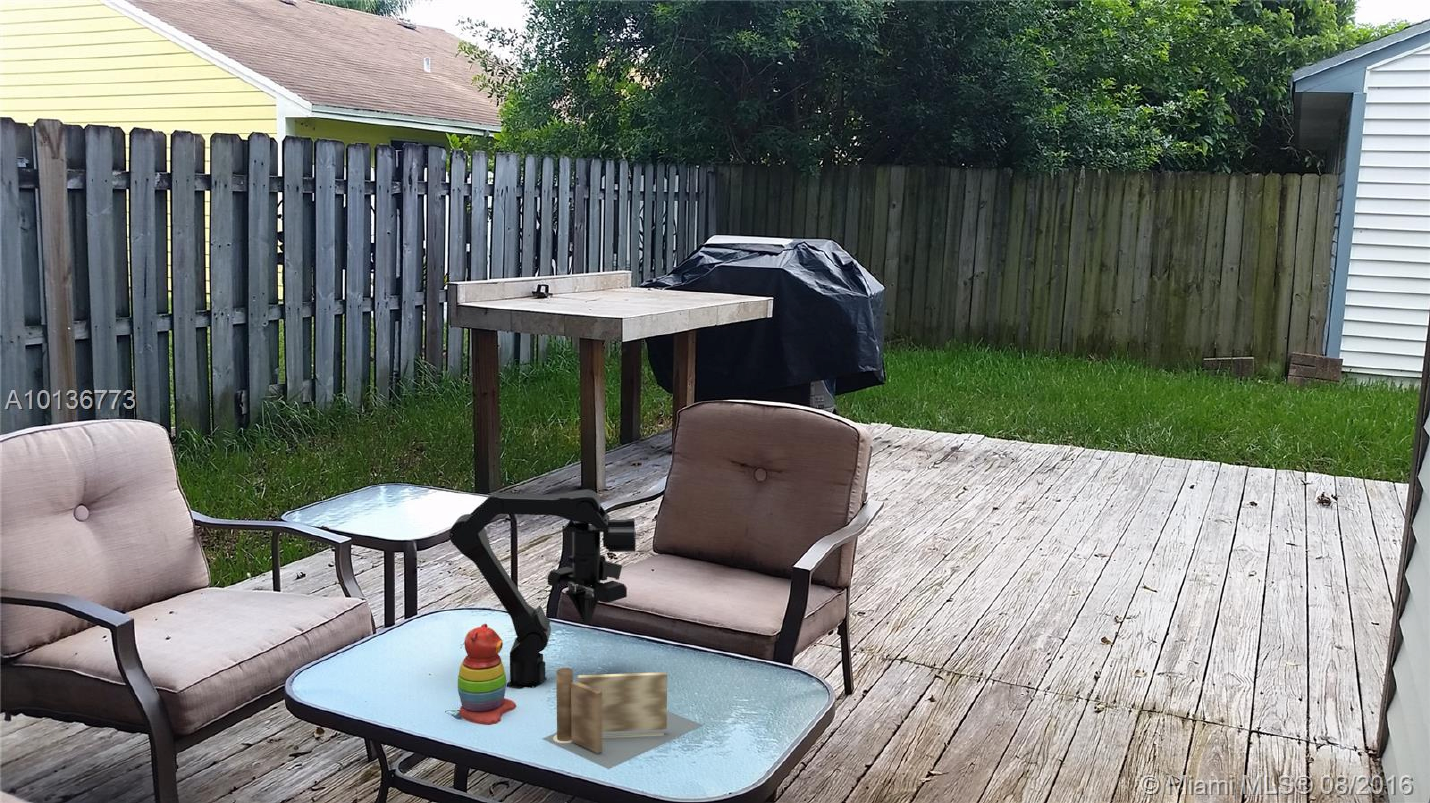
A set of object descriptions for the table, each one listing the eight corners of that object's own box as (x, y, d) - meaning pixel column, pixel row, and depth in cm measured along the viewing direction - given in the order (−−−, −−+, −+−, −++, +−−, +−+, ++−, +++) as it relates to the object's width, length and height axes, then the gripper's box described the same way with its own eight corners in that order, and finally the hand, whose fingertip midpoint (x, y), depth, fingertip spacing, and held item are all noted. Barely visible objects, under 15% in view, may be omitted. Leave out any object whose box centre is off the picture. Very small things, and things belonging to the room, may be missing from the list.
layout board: (542, 741, 218) (542, 737, 218) (637, 701, 236) (637, 698, 236) (608, 771, 206) (608, 768, 206) (703, 727, 225) (703, 724, 225)
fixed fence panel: (553, 738, 218) (553, 670, 216) (565, 733, 220) (565, 666, 218) (593, 756, 211) (593, 686, 209) (605, 750, 213) (605, 682, 211)
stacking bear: (494, 729, 223) (493, 639, 220) (447, 721, 226) (445, 633, 223) (520, 707, 233) (518, 621, 231) (474, 700, 236) (472, 616, 234)
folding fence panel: (578, 732, 218) (578, 677, 216) (578, 730, 219) (578, 675, 217) (666, 729, 220) (667, 674, 218) (666, 726, 221) (666, 672, 219)
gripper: (645, 552, 241) (645, 624, 244) (585, 535, 254) (585, 604, 256) (606, 563, 233) (606, 638, 236) (545, 545, 245) (546, 617, 248)
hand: (586, 623), depth 244 cm, fingers closed
